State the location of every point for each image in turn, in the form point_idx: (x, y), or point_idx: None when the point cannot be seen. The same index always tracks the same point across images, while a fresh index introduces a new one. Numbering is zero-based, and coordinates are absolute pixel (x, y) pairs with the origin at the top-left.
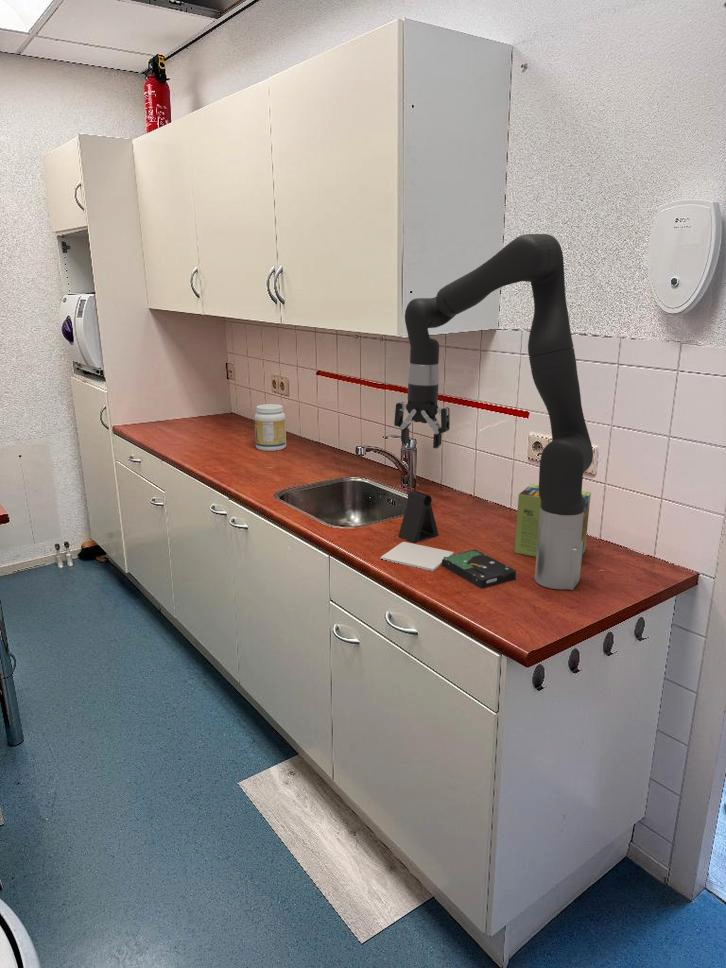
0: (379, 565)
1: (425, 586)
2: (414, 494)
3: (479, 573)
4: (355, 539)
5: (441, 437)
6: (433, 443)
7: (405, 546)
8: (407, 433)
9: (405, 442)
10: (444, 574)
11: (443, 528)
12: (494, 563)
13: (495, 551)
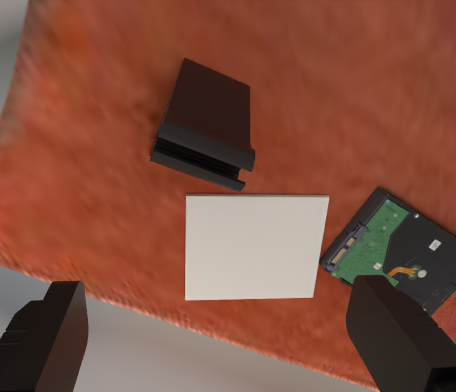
0: (198, 319)
1: (317, 349)
2: (184, 170)
3: (413, 297)
4: (58, 226)
5: (453, 344)
6: (363, 357)
7: (207, 221)
8: (57, 379)
9: (85, 341)
10: (335, 294)
11: (241, 13)
12: (440, 247)
13: (421, 125)
